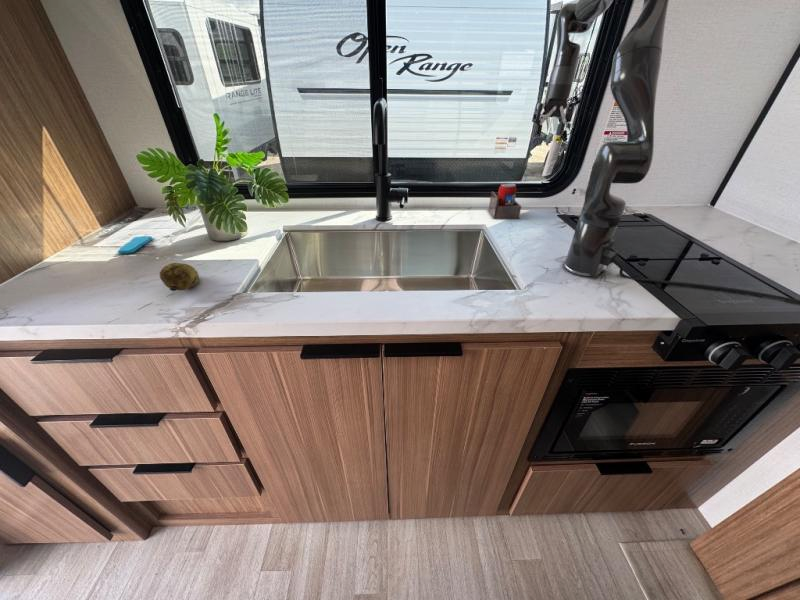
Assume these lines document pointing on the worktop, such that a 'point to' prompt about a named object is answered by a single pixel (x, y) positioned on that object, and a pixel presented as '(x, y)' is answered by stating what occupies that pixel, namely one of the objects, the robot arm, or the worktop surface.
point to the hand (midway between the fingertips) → (548, 135)
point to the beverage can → (507, 194)
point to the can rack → (503, 209)
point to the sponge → (134, 244)
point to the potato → (179, 276)
